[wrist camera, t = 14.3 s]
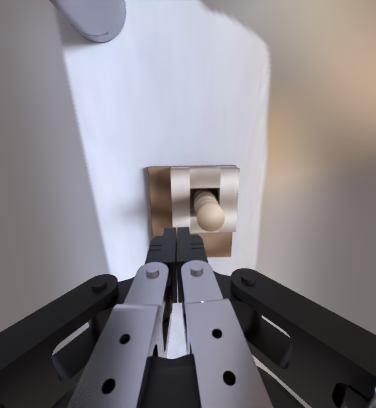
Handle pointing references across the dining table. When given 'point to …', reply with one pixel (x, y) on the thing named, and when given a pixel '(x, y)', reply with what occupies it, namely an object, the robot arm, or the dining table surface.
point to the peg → (208, 211)
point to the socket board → (183, 201)
